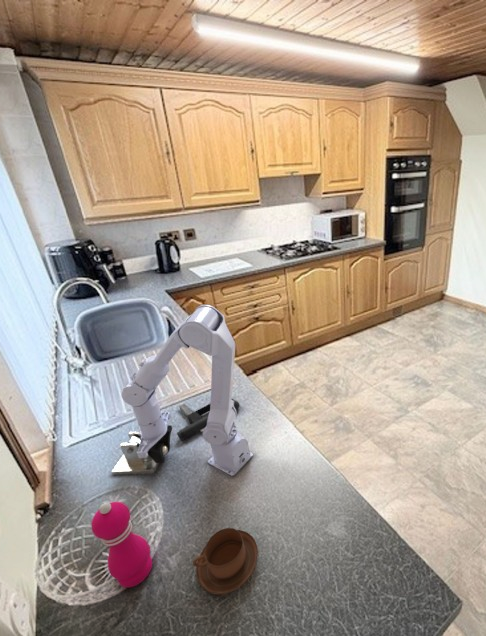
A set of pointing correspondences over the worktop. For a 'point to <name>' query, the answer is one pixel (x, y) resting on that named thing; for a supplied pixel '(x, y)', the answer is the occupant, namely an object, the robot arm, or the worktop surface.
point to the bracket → (134, 459)
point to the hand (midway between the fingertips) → (162, 456)
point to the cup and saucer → (226, 561)
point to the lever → (137, 439)
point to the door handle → (196, 420)
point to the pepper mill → (122, 544)
